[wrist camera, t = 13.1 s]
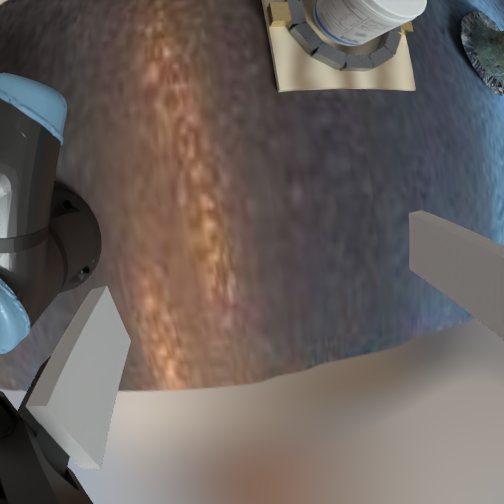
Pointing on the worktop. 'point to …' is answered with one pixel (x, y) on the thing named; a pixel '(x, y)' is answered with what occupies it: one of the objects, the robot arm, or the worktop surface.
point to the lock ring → (307, 38)
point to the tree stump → (484, 48)
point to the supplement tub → (363, 18)
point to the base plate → (324, 77)
